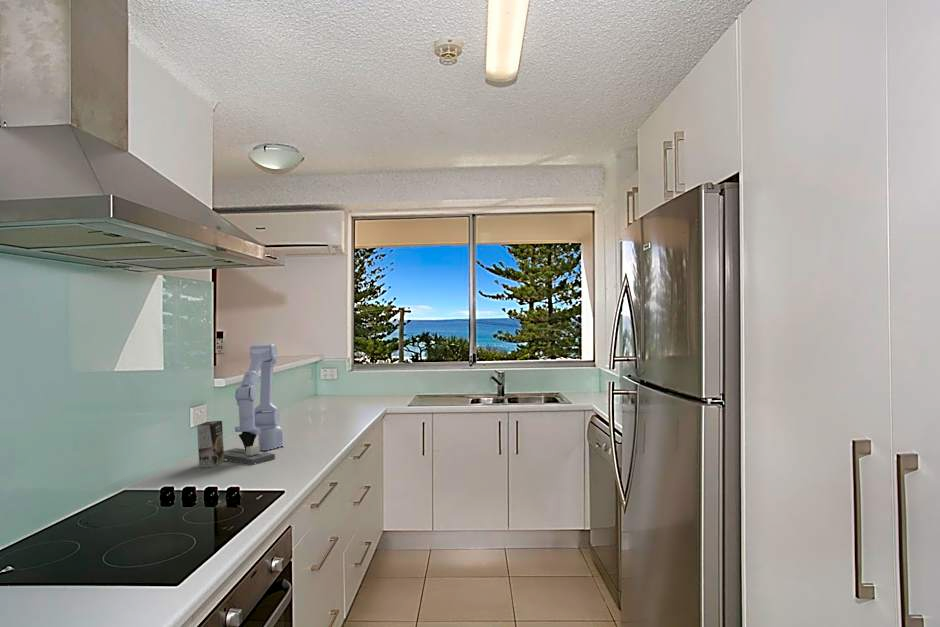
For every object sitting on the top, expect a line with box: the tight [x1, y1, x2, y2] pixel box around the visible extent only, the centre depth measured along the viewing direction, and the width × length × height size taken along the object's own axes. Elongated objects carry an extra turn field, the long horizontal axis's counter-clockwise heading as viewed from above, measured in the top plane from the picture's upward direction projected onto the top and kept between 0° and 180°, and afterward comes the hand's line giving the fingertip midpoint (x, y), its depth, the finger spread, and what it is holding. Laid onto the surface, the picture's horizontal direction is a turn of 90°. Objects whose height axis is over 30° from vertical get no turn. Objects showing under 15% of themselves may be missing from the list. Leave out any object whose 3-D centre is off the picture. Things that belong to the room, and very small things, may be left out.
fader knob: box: [246, 444, 261, 456], centre depth 254 cm, size 4×3×3 cm
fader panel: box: [224, 447, 276, 465], centre depth 257 cm, size 10×26×2 cm, turn 53°
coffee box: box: [196, 420, 225, 468], centre depth 250 cm, size 9×6×16 cm
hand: (248, 451), depth 255 cm, fingers closed
